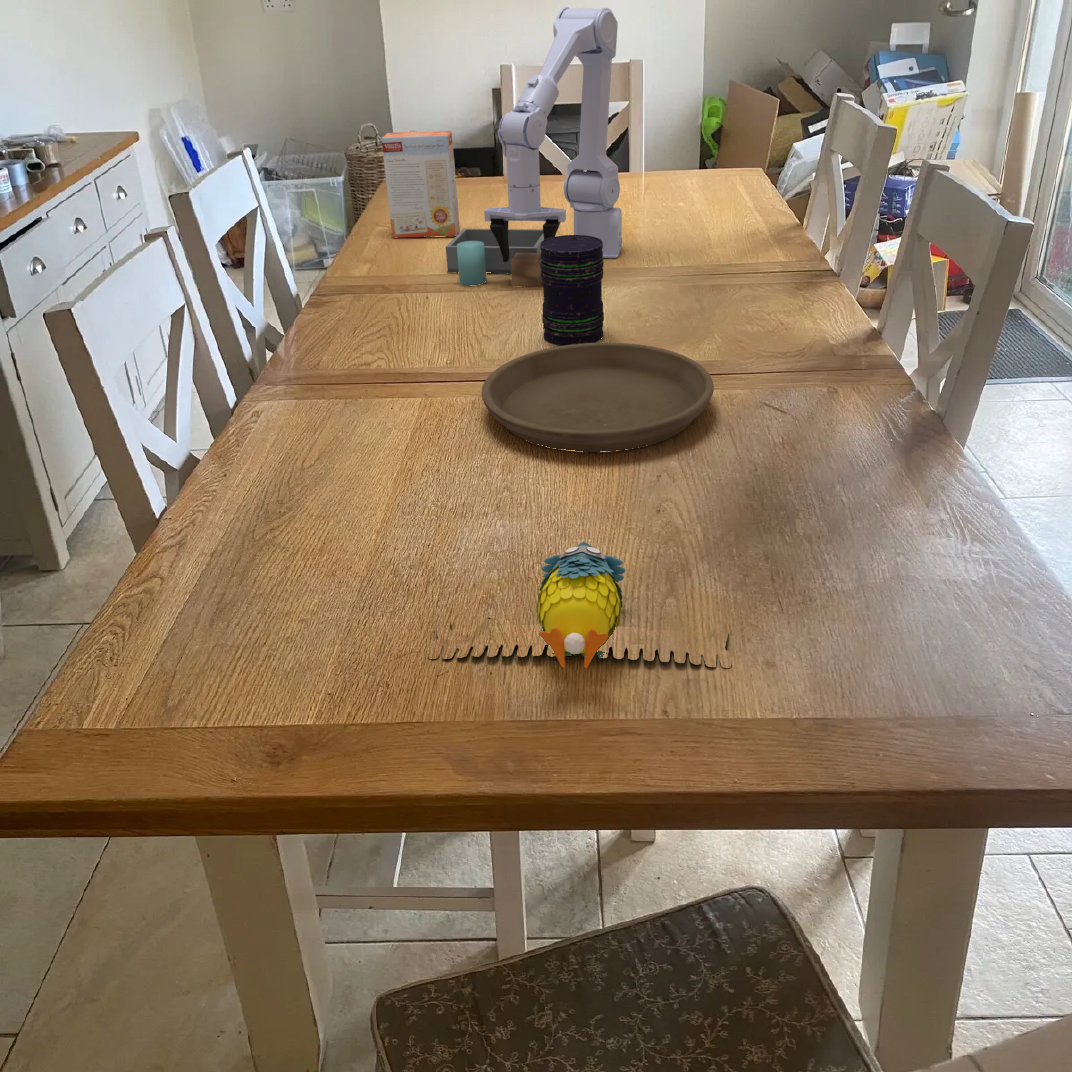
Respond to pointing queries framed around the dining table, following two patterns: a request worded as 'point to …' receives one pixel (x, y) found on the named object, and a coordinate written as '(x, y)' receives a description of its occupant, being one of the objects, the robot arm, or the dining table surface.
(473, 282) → the teal cylinder
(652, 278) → the dining table surface
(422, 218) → the cracker box
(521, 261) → the walnut block
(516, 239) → the tote
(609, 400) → the plant saucer
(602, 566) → the owl figurine
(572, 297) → the storage jar
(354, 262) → the dining table surface
